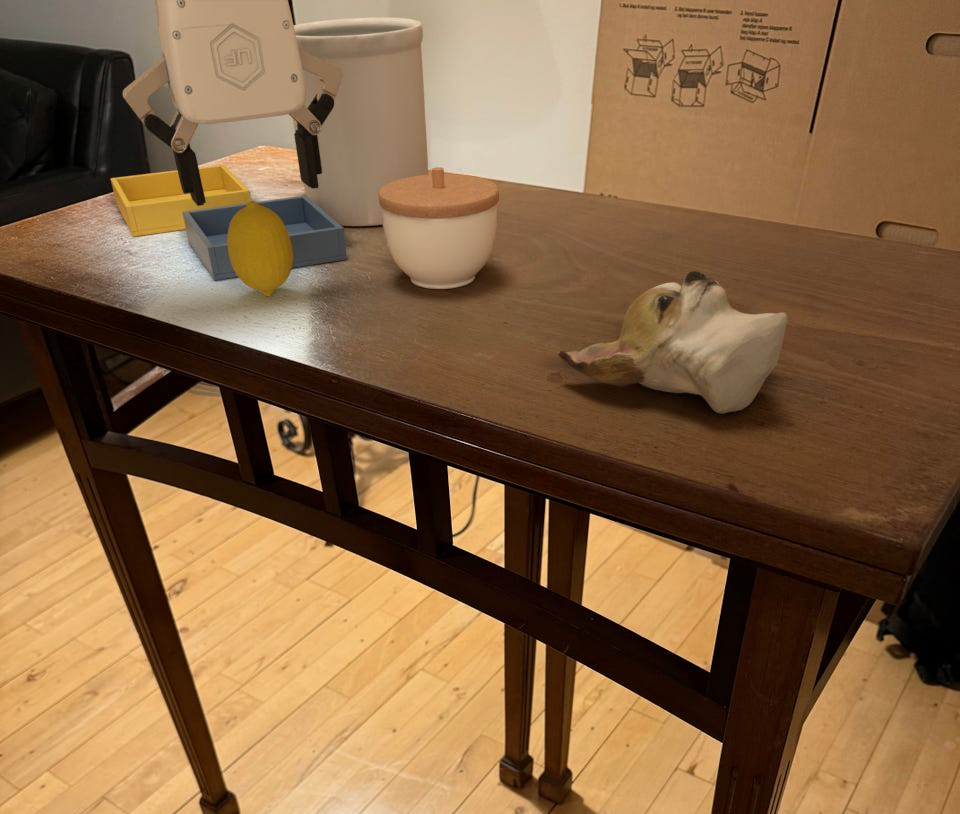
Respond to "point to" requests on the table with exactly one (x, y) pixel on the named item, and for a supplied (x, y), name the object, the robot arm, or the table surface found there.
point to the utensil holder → (367, 112)
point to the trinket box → (440, 226)
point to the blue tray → (302, 218)
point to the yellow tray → (172, 198)
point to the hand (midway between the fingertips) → (255, 193)
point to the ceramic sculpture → (688, 345)
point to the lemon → (259, 248)
